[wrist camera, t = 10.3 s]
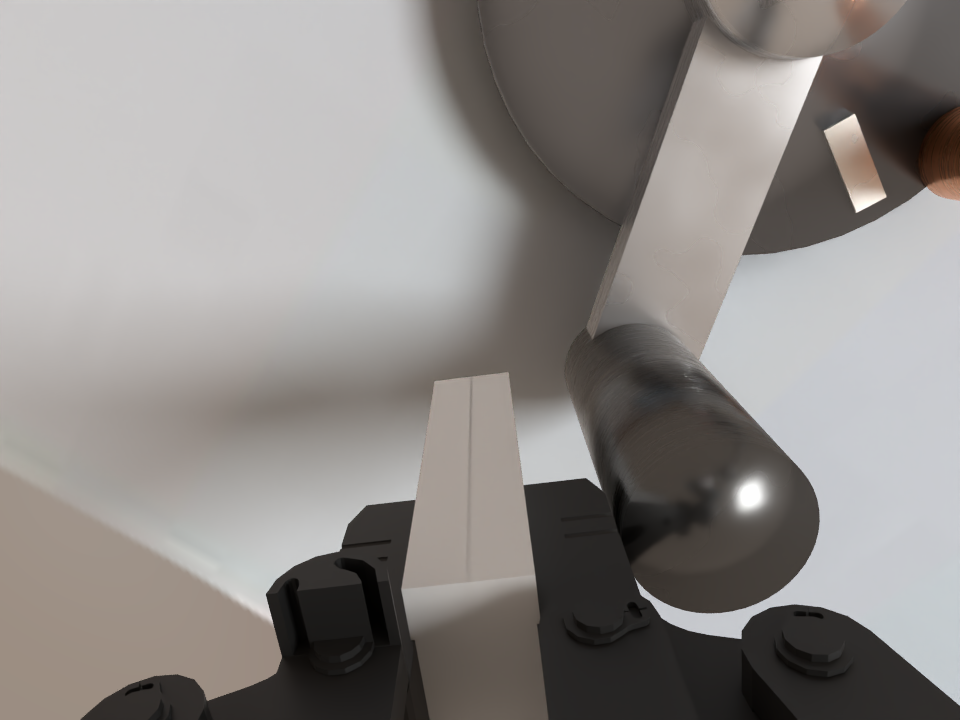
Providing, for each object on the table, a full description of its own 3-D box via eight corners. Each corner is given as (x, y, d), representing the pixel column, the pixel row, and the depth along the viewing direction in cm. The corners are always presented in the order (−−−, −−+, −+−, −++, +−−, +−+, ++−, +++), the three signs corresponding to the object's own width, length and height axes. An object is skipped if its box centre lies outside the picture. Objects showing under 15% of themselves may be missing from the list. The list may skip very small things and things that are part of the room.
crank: (723, -195, 13) (971, -514, 7) (917, -125, 14) (1337, -360, 7) (525, 400, 17) (556, 578, 10) (681, 442, 17) (808, 640, 11)
